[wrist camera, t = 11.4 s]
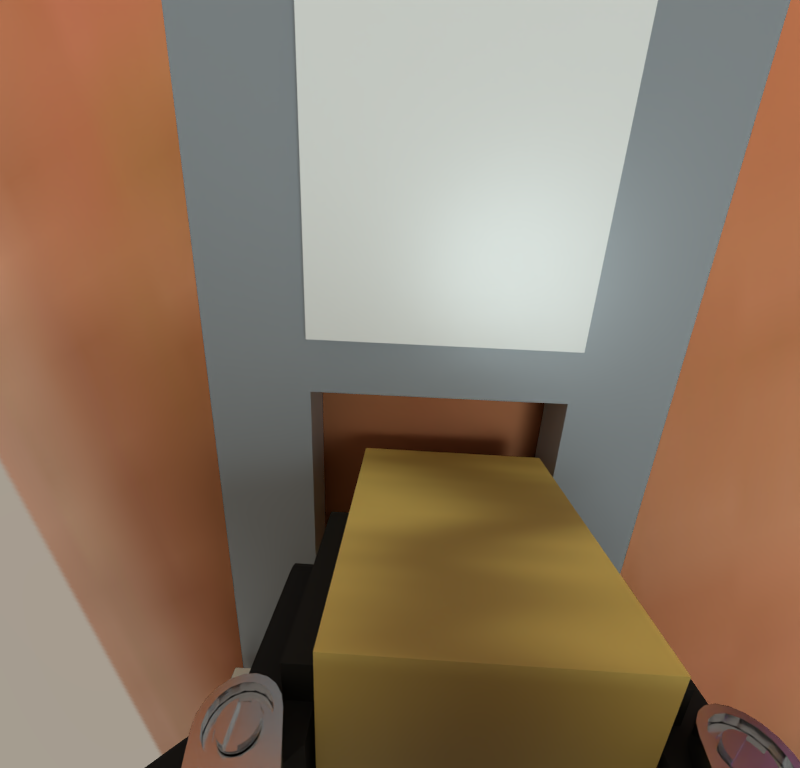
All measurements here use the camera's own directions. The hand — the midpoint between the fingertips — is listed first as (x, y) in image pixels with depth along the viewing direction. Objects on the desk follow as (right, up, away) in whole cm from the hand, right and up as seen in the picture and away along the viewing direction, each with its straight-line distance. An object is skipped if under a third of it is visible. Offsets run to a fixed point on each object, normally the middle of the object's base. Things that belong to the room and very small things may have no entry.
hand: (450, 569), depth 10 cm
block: (0, 0, +2) cm, 2 cm away
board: (0, +1, +3) cm, 3 cm away
